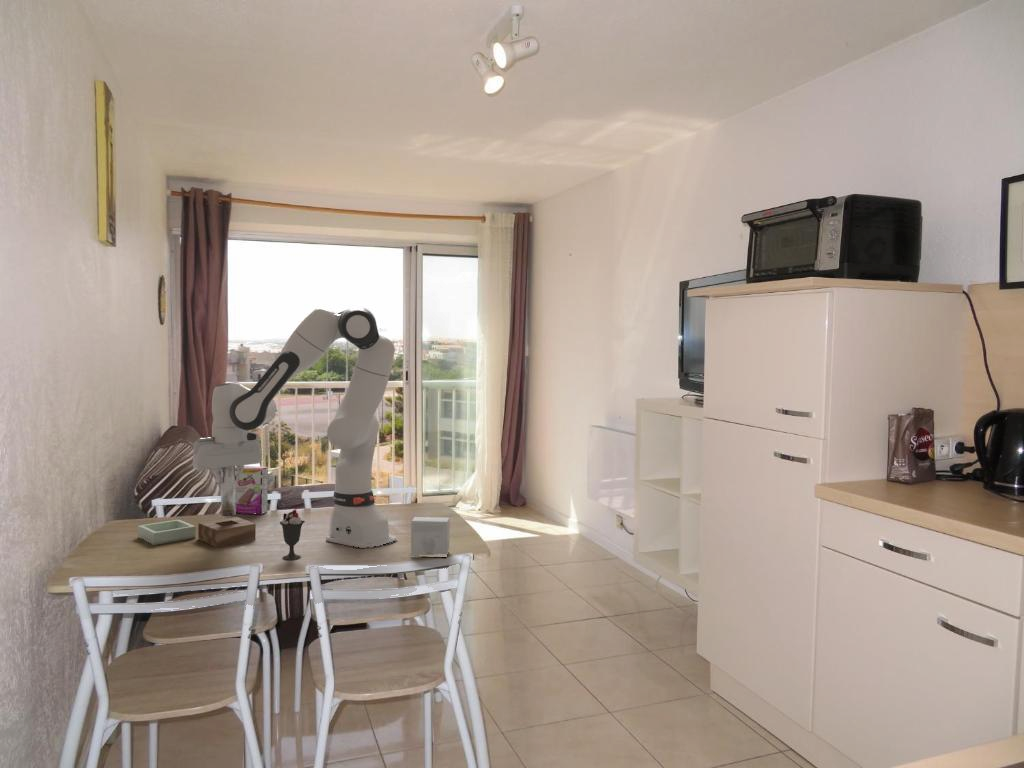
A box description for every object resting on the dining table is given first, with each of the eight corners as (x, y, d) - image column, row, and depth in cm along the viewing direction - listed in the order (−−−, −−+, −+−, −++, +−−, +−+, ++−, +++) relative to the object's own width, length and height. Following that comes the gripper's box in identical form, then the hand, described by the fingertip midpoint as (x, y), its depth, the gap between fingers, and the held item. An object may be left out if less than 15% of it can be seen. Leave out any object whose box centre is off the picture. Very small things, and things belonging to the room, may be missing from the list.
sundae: (304, 560, 194) (305, 506, 194) (278, 561, 192) (279, 507, 192) (304, 553, 201) (304, 501, 200) (279, 555, 199) (280, 502, 198)
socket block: (255, 539, 214) (255, 523, 214) (216, 547, 205) (216, 530, 205) (236, 532, 222) (236, 516, 222) (198, 539, 213) (198, 522, 213)
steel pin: (237, 514, 213) (237, 465, 213) (225, 516, 211) (224, 466, 210) (231, 512, 216) (231, 464, 216) (218, 514, 213) (218, 465, 213)
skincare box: (449, 552, 206) (450, 516, 206) (446, 558, 200) (447, 521, 199) (413, 551, 206) (414, 515, 206) (410, 557, 200) (410, 520, 199)
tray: (195, 538, 214) (195, 526, 214) (154, 545, 206) (154, 533, 205) (178, 530, 222) (178, 519, 222) (138, 537, 214) (138, 525, 213)
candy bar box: (231, 513, 247) (231, 467, 246) (238, 510, 252) (238, 465, 251) (261, 515, 246) (262, 468, 245) (268, 512, 251) (268, 466, 250)
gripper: (198, 439, 202) (198, 487, 203) (264, 434, 218) (264, 478, 218) (188, 437, 207) (188, 484, 207) (254, 432, 222) (254, 476, 222)
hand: (228, 481), depth 213 cm, fingers closed on steel pin, 4 cm apart
